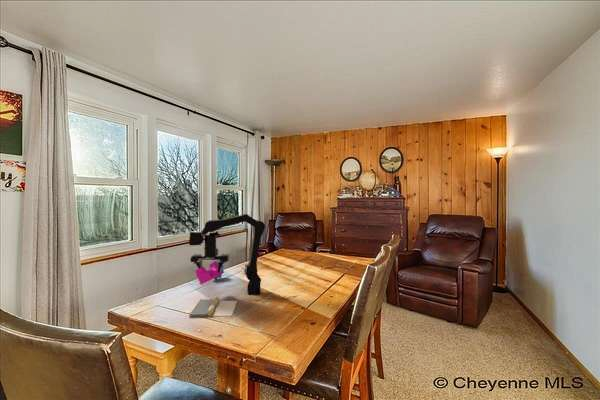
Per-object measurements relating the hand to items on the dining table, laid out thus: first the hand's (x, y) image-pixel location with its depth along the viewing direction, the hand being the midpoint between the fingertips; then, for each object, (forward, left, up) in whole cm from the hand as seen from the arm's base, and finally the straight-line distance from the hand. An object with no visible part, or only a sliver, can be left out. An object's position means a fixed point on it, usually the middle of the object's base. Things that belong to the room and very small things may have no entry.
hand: (210, 274), depth 147 cm
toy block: (-2, +2, -2) cm, 3 cm away
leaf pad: (-10, +16, -12) cm, 22 cm away
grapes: (+3, -30, -12) cm, 33 cm away
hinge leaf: (-1, +16, -12) cm, 20 cm away
